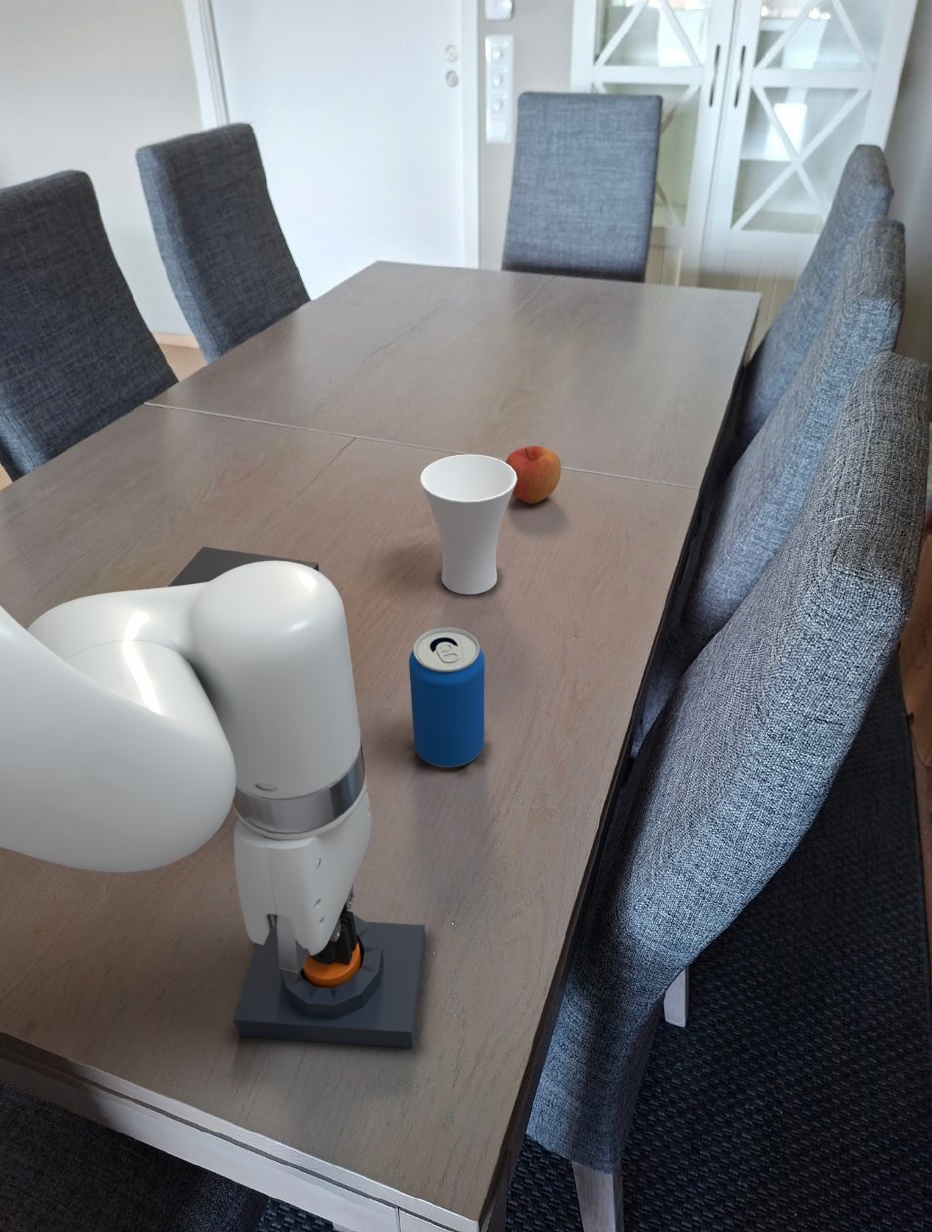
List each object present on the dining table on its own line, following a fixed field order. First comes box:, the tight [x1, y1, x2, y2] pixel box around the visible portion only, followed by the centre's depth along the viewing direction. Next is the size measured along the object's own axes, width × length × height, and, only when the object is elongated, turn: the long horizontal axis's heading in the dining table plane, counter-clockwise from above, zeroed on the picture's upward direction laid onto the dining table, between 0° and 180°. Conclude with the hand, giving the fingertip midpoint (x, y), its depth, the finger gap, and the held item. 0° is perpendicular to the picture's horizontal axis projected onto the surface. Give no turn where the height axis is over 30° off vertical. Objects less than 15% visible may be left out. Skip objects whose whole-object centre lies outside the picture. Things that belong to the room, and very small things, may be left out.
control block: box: [233, 913, 427, 1049], centre depth 62 cm, size 12×8×4 cm, turn 86°
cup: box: [419, 453, 517, 595], centre depth 98 cm, size 10×10×14 cm
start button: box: [303, 943, 361, 988], centre depth 60 cm, size 4×4×2 cm
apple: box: [505, 445, 562, 505], centre depth 115 cm, size 7×7×8 cm
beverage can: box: [408, 627, 486, 768], centre depth 78 cm, size 6×6×12 cm
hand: (332, 950), depth 60 cm, fingers closed
